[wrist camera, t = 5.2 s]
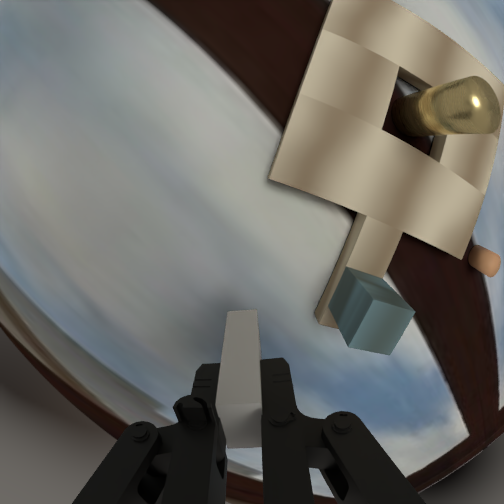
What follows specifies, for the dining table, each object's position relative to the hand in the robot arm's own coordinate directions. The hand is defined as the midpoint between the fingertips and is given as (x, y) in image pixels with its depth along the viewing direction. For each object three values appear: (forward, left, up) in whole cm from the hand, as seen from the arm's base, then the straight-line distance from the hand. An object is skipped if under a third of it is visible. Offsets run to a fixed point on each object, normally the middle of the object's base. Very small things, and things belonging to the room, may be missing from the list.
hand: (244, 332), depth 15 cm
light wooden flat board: (+7, +12, -6) cm, 15 cm away
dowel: (+18, +8, -6) cm, 21 cm away
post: (+7, +16, -6) cm, 18 cm away
